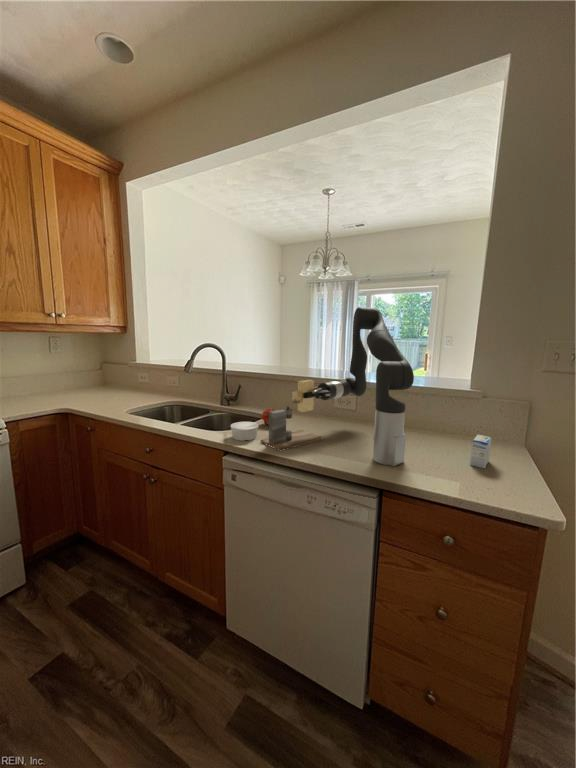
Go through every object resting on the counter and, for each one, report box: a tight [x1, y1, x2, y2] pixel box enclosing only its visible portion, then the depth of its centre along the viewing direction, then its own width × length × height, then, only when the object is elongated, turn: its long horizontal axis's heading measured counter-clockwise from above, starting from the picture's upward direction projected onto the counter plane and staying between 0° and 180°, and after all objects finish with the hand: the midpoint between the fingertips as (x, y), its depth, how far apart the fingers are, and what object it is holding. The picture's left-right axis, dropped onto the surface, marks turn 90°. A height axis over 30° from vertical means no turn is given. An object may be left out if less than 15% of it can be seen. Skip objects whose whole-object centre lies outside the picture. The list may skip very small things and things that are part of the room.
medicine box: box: [469, 434, 492, 469], centre depth 105 cm, size 8×4×9 cm, turn 141°
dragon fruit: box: [260, 407, 276, 426], centre depth 146 cm, size 8×8×12 cm
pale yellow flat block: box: [291, 379, 315, 413], centre depth 126 cm, size 3×10×12 cm, turn 131°
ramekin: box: [230, 421, 259, 441], centre depth 128 cm, size 11×11×5 cm
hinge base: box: [260, 405, 323, 451], centre depth 124 cm, size 12×22×14 cm, turn 131°
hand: (301, 395), depth 126 cm, fingers closed on pale yellow flat block, 3 cm apart
